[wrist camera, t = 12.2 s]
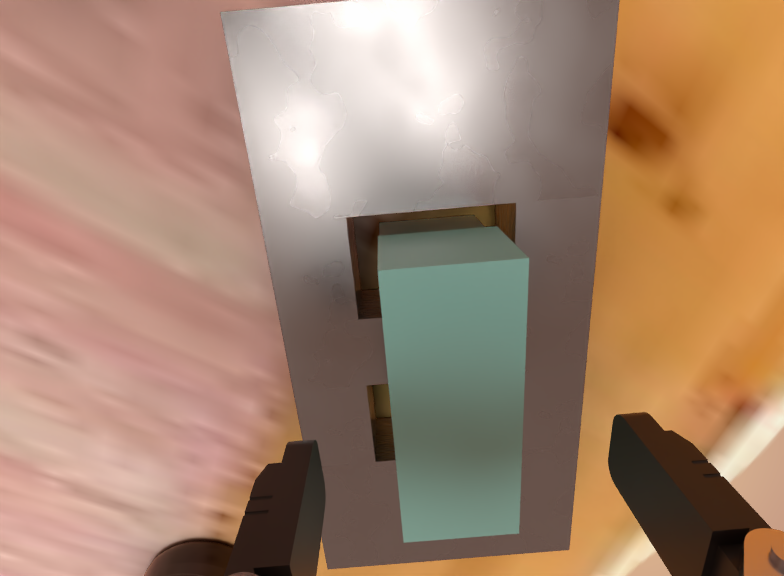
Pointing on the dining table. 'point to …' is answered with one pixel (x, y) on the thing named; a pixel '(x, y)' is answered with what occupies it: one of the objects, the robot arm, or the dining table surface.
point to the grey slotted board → (421, 193)
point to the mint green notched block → (455, 373)
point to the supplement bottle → (192, 560)
